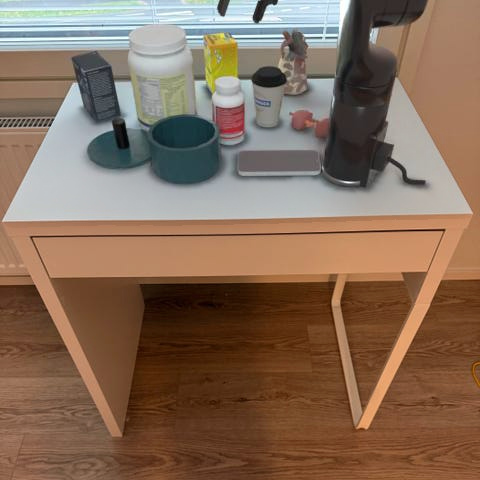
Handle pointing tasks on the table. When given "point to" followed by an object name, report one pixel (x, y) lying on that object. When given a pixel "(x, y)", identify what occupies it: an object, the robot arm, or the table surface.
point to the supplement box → (220, 58)
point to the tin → (185, 148)
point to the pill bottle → (229, 110)
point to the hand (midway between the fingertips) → (237, 18)
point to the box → (96, 86)
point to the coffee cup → (268, 95)
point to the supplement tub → (161, 73)
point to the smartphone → (278, 162)
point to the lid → (120, 146)
